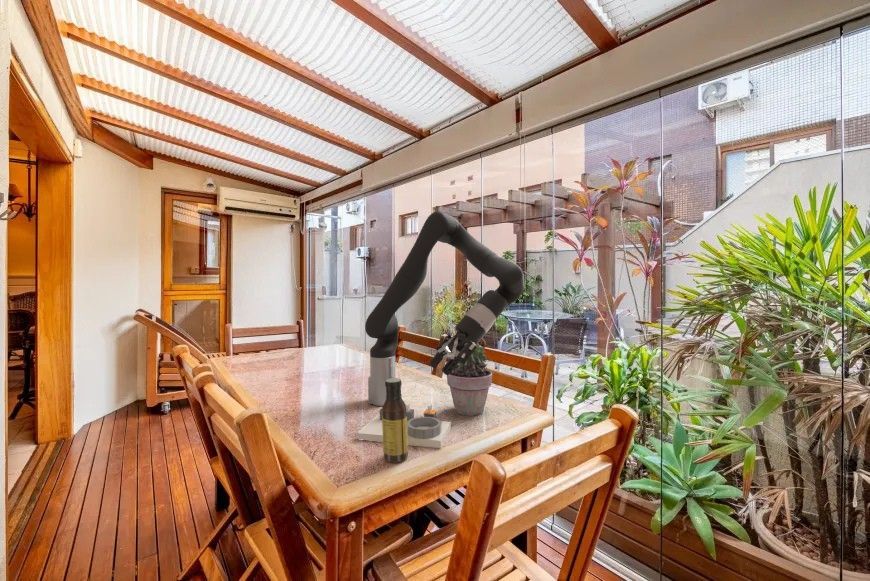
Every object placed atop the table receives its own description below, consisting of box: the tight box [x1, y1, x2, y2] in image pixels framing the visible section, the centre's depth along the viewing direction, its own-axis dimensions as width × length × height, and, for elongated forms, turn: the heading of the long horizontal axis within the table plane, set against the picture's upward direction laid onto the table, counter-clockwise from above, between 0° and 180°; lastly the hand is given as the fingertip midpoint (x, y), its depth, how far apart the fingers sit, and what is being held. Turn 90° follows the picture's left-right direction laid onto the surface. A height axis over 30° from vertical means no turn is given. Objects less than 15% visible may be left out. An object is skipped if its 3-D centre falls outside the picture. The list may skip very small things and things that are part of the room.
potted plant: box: [446, 338, 493, 416], centre depth 129 cm, size 18×20×25 cm
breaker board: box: [356, 403, 452, 449], centre depth 110 cm, size 24×14×7 cm, turn 77°
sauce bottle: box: [381, 377, 409, 464], centre depth 95 cm, size 6×6×20 cm
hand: (437, 369), depth 99 cm, fingers open, 8 cm apart
